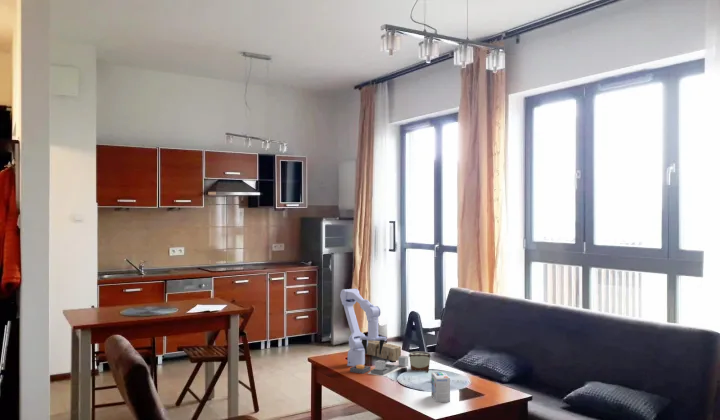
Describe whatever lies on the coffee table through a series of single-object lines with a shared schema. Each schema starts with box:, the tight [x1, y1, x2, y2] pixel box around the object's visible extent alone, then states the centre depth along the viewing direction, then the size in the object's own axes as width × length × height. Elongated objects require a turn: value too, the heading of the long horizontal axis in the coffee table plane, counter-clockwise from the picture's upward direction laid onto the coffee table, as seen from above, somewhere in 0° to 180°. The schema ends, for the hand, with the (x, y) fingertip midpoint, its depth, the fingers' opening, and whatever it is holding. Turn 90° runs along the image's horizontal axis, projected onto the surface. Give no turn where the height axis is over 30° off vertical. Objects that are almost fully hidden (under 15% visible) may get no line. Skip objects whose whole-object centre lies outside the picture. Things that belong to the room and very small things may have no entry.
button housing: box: [349, 365, 371, 375], centre depth 305 cm, size 8×8×3 cm
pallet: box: [366, 363, 402, 377], centre depth 305 cm, size 11×19×2 cm, turn 149°
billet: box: [398, 355, 409, 368], centre depth 316 cm, size 4×4×6 cm
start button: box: [355, 364, 365, 369], centre depth 305 cm, size 4×4×3 cm
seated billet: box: [374, 359, 386, 372], centre depth 301 cm, size 4×4×6 cm
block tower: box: [366, 340, 402, 362], centre depth 344 cm, size 8×8×29 cm
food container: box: [408, 350, 432, 372], centre depth 309 cm, size 12×6×10 cm, turn 84°
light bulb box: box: [430, 371, 451, 403], centre depth 259 cm, size 11×7×11 cm, turn 5°
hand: (373, 353), depth 308 cm, fingers open, 7 cm apart
